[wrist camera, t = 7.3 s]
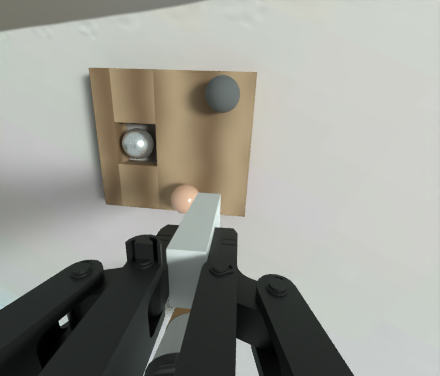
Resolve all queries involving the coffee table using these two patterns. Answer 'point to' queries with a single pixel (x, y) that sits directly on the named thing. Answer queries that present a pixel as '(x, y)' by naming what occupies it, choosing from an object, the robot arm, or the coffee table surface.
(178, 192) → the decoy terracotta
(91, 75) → the wooden flat board
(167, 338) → the coffee cup
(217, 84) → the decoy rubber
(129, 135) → the steel ball
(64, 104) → the coffee table surface
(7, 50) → the coffee table surface
